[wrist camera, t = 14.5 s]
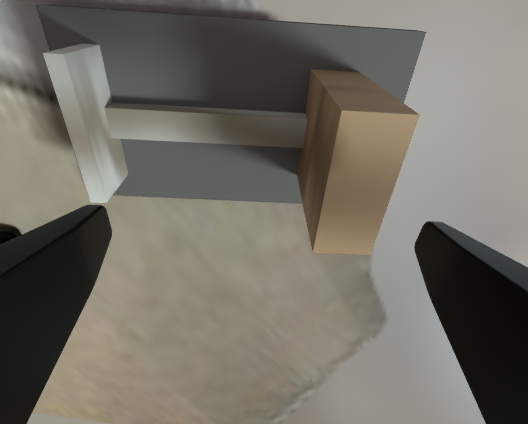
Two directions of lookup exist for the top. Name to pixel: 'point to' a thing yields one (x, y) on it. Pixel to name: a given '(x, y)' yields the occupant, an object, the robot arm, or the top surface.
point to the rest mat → (223, 87)
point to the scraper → (254, 141)
